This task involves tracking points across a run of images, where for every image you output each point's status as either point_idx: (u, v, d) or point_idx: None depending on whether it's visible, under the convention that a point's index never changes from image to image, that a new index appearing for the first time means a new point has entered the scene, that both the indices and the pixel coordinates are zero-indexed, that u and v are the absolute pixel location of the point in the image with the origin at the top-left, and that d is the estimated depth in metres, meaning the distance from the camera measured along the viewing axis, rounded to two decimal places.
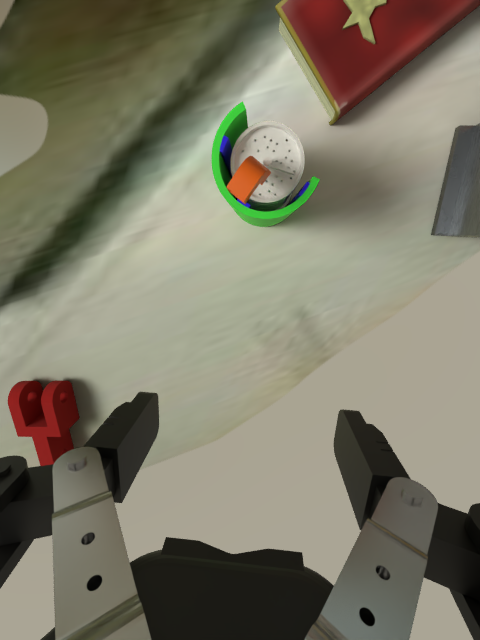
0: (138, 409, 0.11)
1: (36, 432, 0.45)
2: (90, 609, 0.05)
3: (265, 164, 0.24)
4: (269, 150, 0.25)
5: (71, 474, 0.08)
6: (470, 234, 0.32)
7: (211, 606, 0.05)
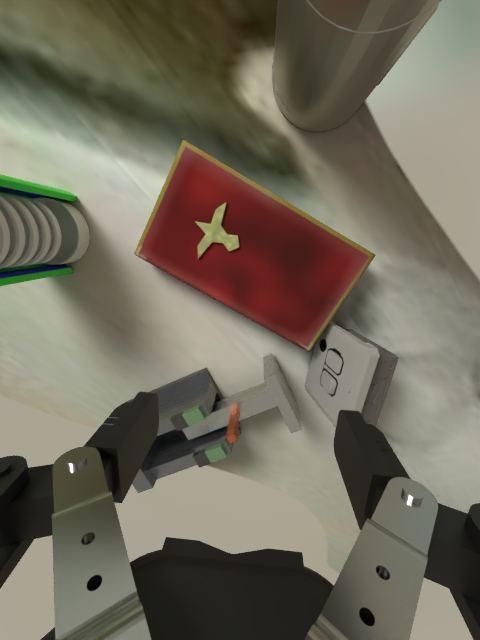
0: (138, 409, 0.11)
1: None
2: (90, 608, 0.05)
3: None
4: None
5: (71, 474, 0.08)
6: None
7: (211, 606, 0.05)
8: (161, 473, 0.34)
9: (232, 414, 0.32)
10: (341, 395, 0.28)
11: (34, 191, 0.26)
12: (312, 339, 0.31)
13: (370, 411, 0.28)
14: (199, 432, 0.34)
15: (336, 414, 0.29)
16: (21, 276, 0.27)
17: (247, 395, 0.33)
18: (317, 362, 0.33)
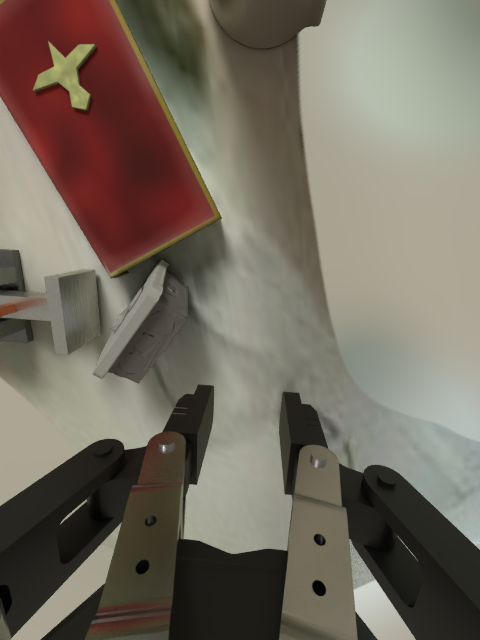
0: (203, 400, 0.12)
1: None
2: (131, 590, 0.05)
3: None
4: None
5: (166, 455, 0.09)
6: None
7: (211, 606, 0.05)
8: None
9: (3, 305, 0.26)
10: (116, 333, 0.24)
11: None
12: (119, 267, 0.26)
13: (136, 364, 0.24)
14: None
15: (103, 351, 0.24)
16: None
17: (36, 296, 0.28)
18: (132, 300, 0.29)
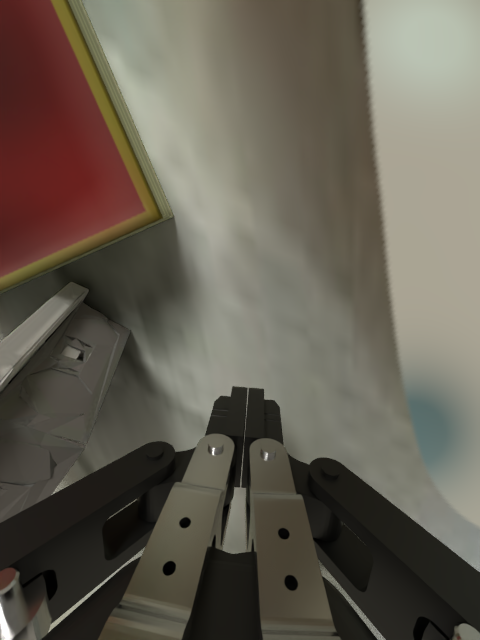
0: (241, 402, 0.12)
1: None
2: (155, 589, 0.05)
3: None
4: None
5: (217, 458, 0.09)
6: None
7: (211, 606, 0.05)
8: None
9: None
10: None
11: None
12: None
13: None
14: None
15: None
16: None
17: None
18: None
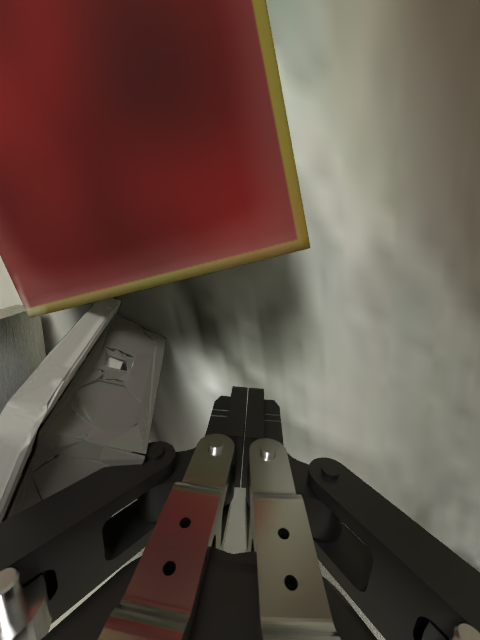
0: (241, 402, 0.12)
1: None
2: (155, 590, 0.05)
3: None
4: None
5: (217, 458, 0.09)
6: None
7: (211, 606, 0.05)
8: None
9: None
10: None
11: None
12: (51, 301, 0.12)
13: None
14: None
15: None
16: None
17: None
18: None
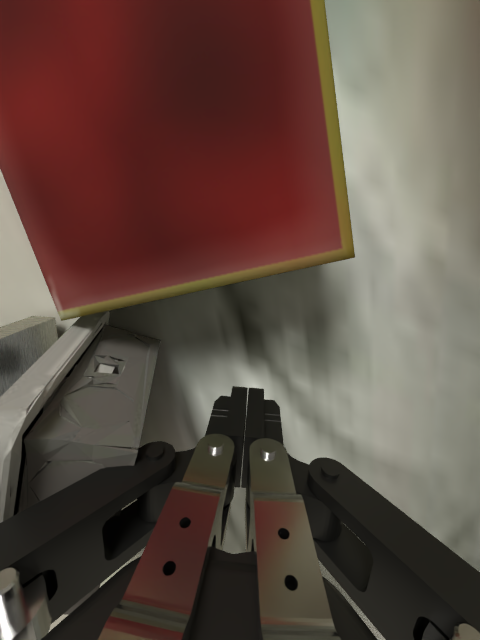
0: (241, 402, 0.12)
1: None
2: (155, 589, 0.05)
3: None
4: None
5: (217, 458, 0.09)
6: None
7: (211, 606, 0.05)
8: None
9: None
10: None
11: None
12: (85, 304, 0.11)
13: None
14: None
15: None
16: None
17: None
18: None
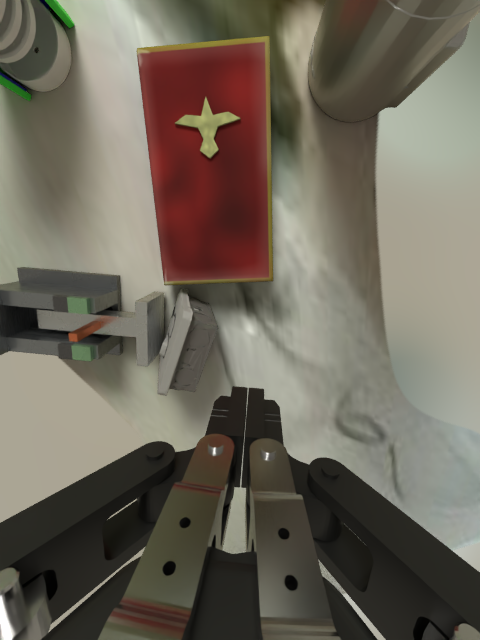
0: (241, 402, 0.12)
1: None
2: (155, 589, 0.05)
3: None
4: None
5: (217, 458, 0.09)
6: None
7: (211, 606, 0.05)
8: (17, 347, 0.31)
9: (92, 322, 0.31)
10: (165, 356, 0.29)
11: None
12: (175, 280, 0.31)
13: (189, 376, 0.29)
14: (53, 326, 0.32)
15: (160, 374, 0.30)
16: None
17: (117, 315, 0.32)
18: (168, 328, 0.34)
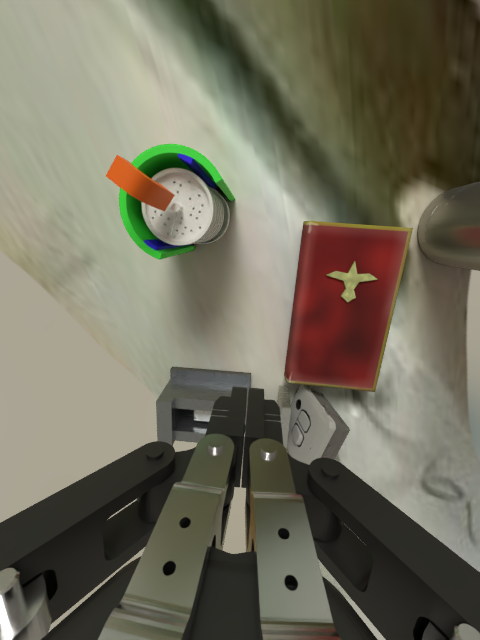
0: (241, 402, 0.12)
1: None
2: (155, 589, 0.05)
3: (172, 205, 0.24)
4: (191, 210, 0.25)
5: (217, 458, 0.09)
6: (162, 392, 0.39)
7: (211, 606, 0.05)
8: (181, 437, 0.40)
9: None
10: (304, 448, 0.38)
11: (227, 194, 0.31)
12: (298, 381, 0.39)
13: None
14: (206, 418, 0.41)
15: None
16: (180, 250, 0.31)
17: None
18: (292, 415, 0.42)
